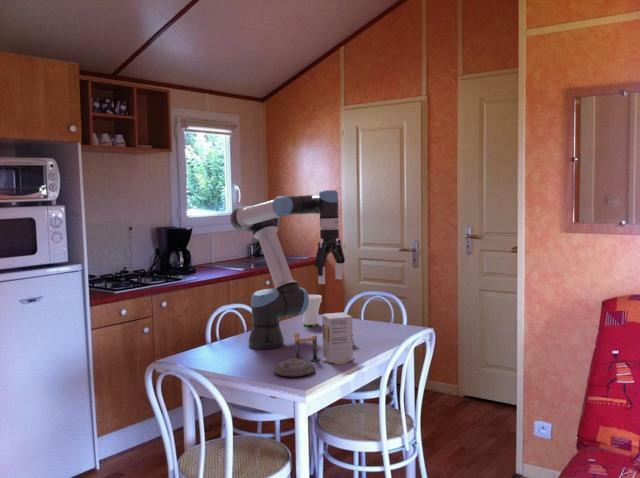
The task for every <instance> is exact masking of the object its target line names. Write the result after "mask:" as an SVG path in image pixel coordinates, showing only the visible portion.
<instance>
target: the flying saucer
mask: <svg viewBox="0 0 640 478" xmlns="http://www.w3.org/2000/svg"><path fill="white" fill-rule="evenodd" d="M315 370H316V368H315V366H314V364H312V362H310V361H308V360H305V359H303V358H301V359H298V358H293V357H292V358H289V359H285V360H283V361H280V362H279V363H277V365H276V366H275V367H274V368H273V372H274V373H275V374H277V375H280V376H282V377H289V378H290V377H291V378H292V377H293V378H294V377H296V378H297V377H303V376H307V375H310V374H312V373H313V372H315Z"/></svg>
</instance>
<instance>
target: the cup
mask: <svg viewBox="0 0 640 478" xmlns="http://www.w3.org/2000/svg"><path fill="white" fill-rule="evenodd" d="M308 296H309V304H308V308H307V310H306V311H305V312H304V313H303V314H302V315H303V319H302V324H303V326H304V327H307V328H308V327H310V326H311V327H313V328H314V327H316V326H319V323H320V319H319V309H320V306H321V303H322V301H323V298H322V295H320V294H308Z"/></svg>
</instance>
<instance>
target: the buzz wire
mask: <svg viewBox="0 0 640 478" xmlns="http://www.w3.org/2000/svg"><path fill="white" fill-rule="evenodd" d="M317 340H318V336H317V335H316V334H314V335H312V336H311V337H307V338H306V337H305V338H300V333H298V332H295V333H294V343H295V345H294V348H295V350H294V351H295V355H293V356H292V358H298V359H303V356H302V355H300V354H301V353H300V351H301V350H300V349H301V347H300V343H304V342H305V343H306V342H312V357H311V358H310V361H311V363H314V362H320V360H321V359H320V358H319V357H318V342H317ZM310 361H309V362H310Z"/></svg>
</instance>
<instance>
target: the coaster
mask: <svg viewBox="0 0 640 478" xmlns="http://www.w3.org/2000/svg"><path fill="white" fill-rule="evenodd" d="M353 360H355V356H353ZM321 362H322V363H328V364H336V365H341V366H343V365H345V364H347V363H349V362H352V360H348V361H339V362H330V361H328V360H327V359H326V358H325V357H324V358H322V360H321Z"/></svg>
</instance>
